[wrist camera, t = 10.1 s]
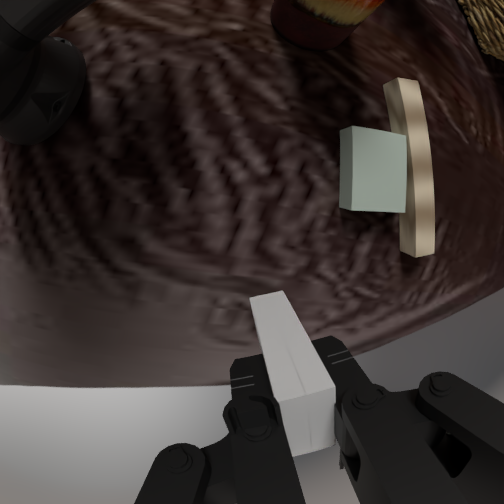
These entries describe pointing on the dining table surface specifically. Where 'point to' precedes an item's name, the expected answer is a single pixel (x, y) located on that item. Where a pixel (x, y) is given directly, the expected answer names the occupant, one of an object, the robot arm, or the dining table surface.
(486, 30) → the basket
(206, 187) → the dining table surface
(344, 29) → the vase
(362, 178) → the block
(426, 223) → the curved wooden bar
